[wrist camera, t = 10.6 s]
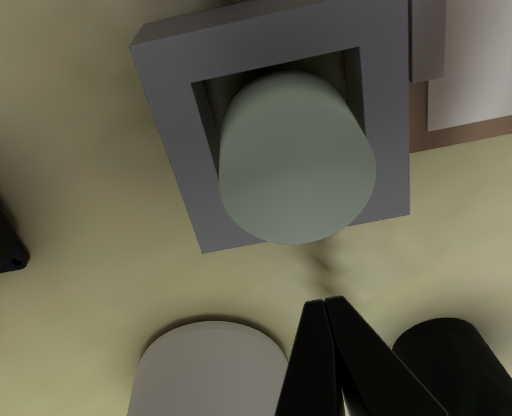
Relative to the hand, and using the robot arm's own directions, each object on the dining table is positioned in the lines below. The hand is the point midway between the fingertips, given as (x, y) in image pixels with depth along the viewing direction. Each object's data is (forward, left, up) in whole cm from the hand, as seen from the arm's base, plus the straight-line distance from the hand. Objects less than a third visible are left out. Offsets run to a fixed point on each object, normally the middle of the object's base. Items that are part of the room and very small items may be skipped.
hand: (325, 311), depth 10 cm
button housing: (0, 0, -11) cm, 11 cm away
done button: (0, 0, -9) cm, 9 cm away
